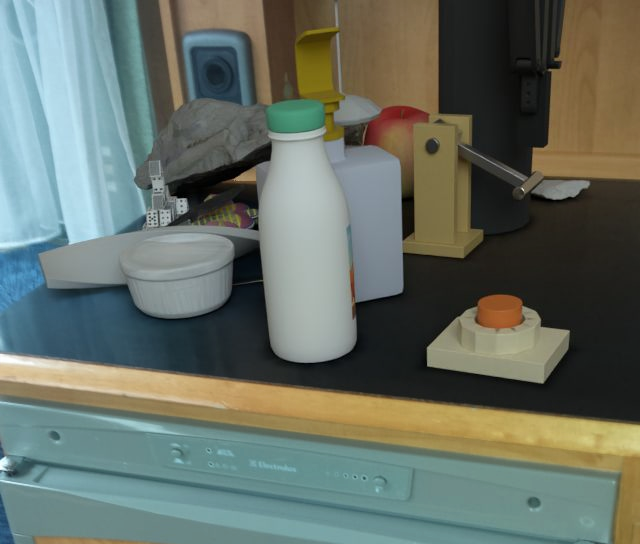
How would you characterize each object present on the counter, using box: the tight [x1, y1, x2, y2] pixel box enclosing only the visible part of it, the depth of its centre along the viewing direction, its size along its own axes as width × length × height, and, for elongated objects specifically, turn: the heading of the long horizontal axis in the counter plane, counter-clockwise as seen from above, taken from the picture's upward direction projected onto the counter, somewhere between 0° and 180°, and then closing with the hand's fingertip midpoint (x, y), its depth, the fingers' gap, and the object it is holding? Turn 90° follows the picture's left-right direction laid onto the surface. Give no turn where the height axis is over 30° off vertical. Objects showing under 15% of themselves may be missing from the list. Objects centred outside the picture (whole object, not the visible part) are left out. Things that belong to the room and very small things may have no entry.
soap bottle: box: [255, 26, 404, 304], centre depth 91 cm, size 12×7×23 cm, turn 109°
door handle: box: [37, 224, 260, 290], centre depth 104 cm, size 26×5×5 cm
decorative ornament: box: [177, 193, 259, 230], centre depth 115 cm, size 17×2×10 cm
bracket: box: [402, 113, 484, 259], centre depth 105 cm, size 7×6×13 cm
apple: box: [362, 105, 431, 200], centre depth 121 cm, size 10×10×10 cm
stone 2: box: [530, 179, 591, 201], centre depth 119 cm, size 6×8×2 cm
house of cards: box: [141, 161, 192, 230], centre depth 117 cm, size 9×9×8 cm
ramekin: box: [119, 233, 235, 320], centre depth 98 cm, size 11×11×5 cm
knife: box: [232, 276, 263, 286], centre depth 104 cm, size 10×2×1 cm, turn 96°
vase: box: [437, 0, 534, 236], centre depth 105 cm, size 10×10×30 cm
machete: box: [165, 185, 245, 227], centre depth 113 cm, size 15×3×1 cm, turn 113°
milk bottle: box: [257, 98, 358, 364], centre depth 83 cm, size 8×8×20 cm
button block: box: [426, 305, 571, 384], centre depth 84 cm, size 10×7×4 cm
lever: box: [433, 119, 545, 201], centre depth 101 cm, size 12×6×2 cm, turn 62°
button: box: [477, 294, 523, 329], centre depth 82 cm, size 4×4×2 cm
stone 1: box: [133, 97, 272, 193], centre depth 122 cm, size 15×28×10 cm, turn 50°
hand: (532, 145), depth 98 cm, fingers closed
